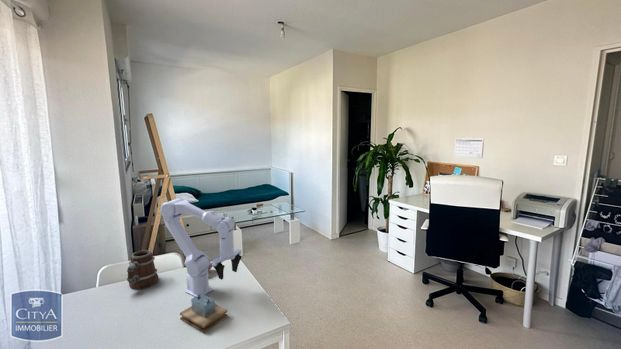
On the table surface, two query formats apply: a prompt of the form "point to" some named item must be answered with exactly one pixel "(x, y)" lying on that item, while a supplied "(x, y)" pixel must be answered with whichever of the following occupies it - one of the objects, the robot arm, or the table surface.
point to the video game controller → (210, 267)
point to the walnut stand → (201, 322)
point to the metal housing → (203, 305)
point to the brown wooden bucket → (142, 270)
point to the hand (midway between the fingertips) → (227, 274)
